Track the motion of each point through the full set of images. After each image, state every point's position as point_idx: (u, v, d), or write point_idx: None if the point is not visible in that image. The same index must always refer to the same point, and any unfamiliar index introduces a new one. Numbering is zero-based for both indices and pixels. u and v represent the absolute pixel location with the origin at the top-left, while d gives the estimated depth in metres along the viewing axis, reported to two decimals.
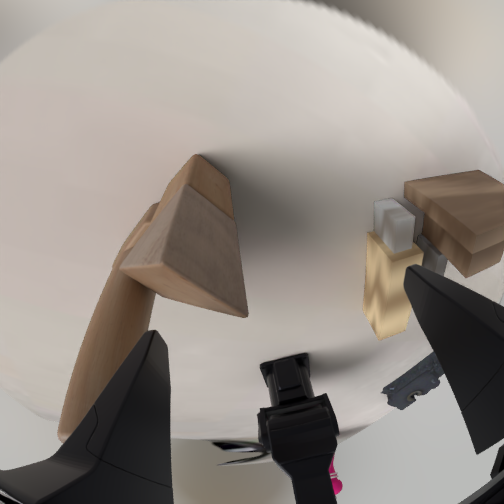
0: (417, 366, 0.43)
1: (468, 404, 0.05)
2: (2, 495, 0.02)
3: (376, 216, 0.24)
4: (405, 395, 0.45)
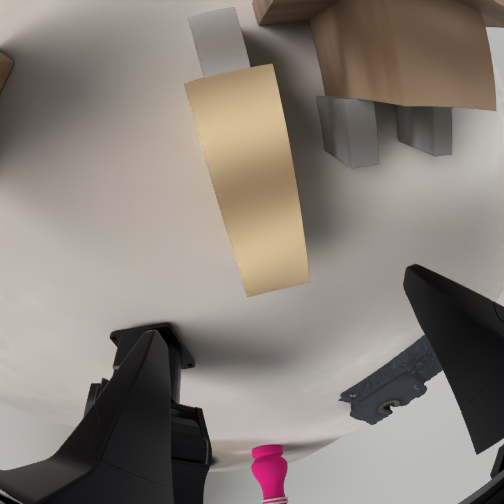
0: (390, 365, 0.31)
1: (468, 404, 0.05)
2: (2, 495, 0.02)
3: None
4: (375, 406, 0.33)
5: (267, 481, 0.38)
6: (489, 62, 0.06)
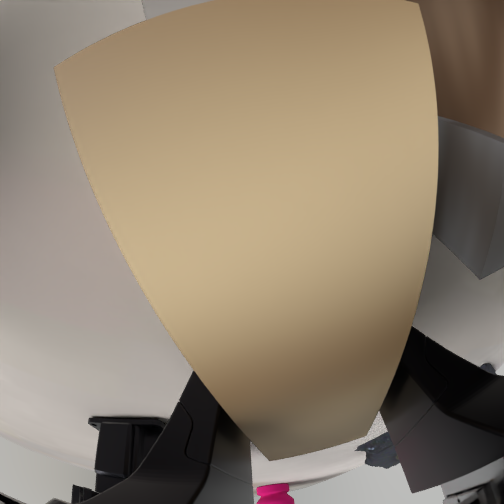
0: None
1: (399, 441, 0.05)
2: (2, 495, 0.02)
3: None
4: (393, 454, 0.26)
5: None
6: None
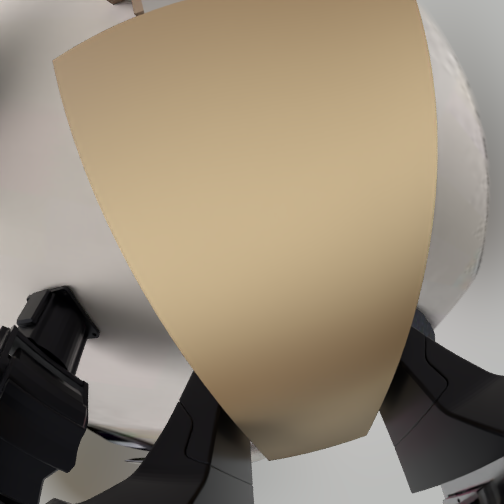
0: None
1: (399, 441, 0.05)
2: (2, 495, 0.02)
3: None
4: None
5: None
6: None
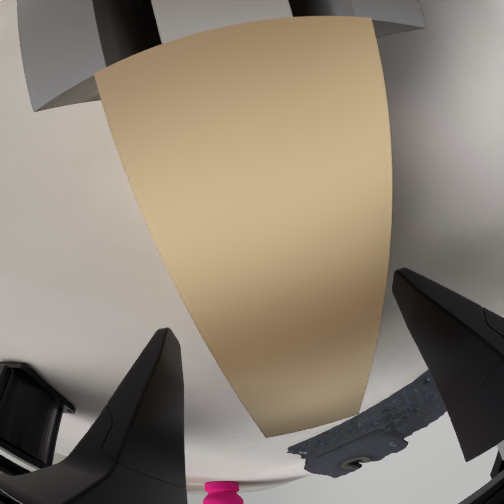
0: (354, 422, 0.21)
1: (457, 411, 0.05)
2: (2, 495, 0.02)
3: None
4: (336, 463, 0.23)
5: None
6: None
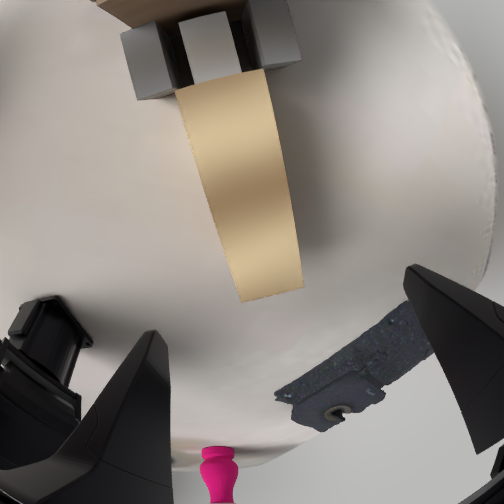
0: (330, 361, 0.27)
1: (468, 404, 0.05)
2: (2, 495, 0.02)
3: None
4: (319, 411, 0.30)
5: (213, 485, 0.35)
6: None
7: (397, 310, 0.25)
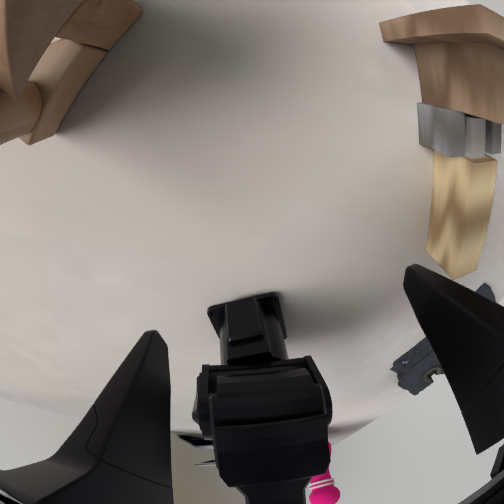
0: None
1: (468, 404, 0.05)
2: (2, 495, 0.02)
3: None
4: (421, 374, 0.35)
5: None
6: None
7: (480, 289, 0.29)
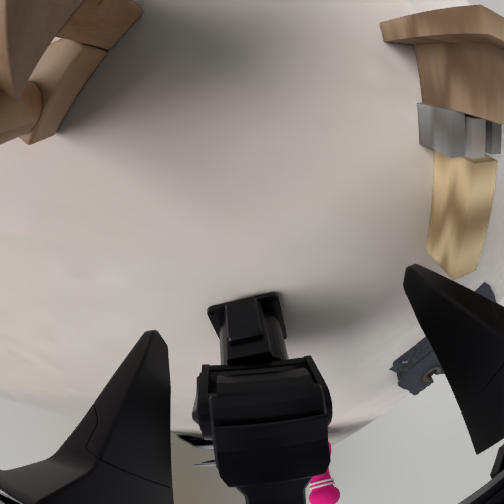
0: None
1: (468, 404, 0.05)
2: (2, 495, 0.02)
3: None
4: (421, 373, 0.35)
5: None
6: None
7: (480, 288, 0.29)
